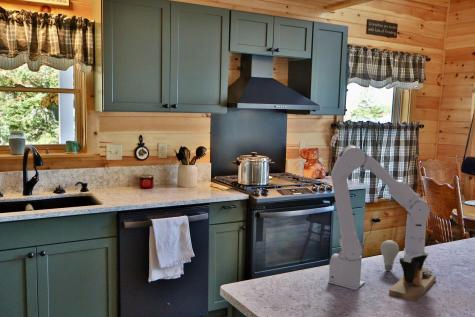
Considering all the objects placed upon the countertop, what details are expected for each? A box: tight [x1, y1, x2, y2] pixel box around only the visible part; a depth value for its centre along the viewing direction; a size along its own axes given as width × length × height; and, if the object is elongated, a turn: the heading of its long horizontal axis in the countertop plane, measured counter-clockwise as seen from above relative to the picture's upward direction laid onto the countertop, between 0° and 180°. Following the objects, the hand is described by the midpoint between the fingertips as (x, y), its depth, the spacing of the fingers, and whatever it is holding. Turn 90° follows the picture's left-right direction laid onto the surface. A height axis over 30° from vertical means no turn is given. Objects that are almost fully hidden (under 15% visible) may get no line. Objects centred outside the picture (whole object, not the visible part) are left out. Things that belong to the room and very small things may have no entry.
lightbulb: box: [379, 239, 400, 272], centre depth 155 cm, size 6×6×11 cm
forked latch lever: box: [402, 268, 433, 286], centre depth 145 cm, size 5×16×5 cm, turn 143°
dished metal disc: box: [422, 266, 429, 274], centre depth 149 cm, size 4×4×2 cm
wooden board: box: [388, 273, 437, 303], centre depth 142 cm, size 8×22×2 cm, turn 143°
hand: (412, 278), depth 141 cm, fingers open, 7 cm apart
